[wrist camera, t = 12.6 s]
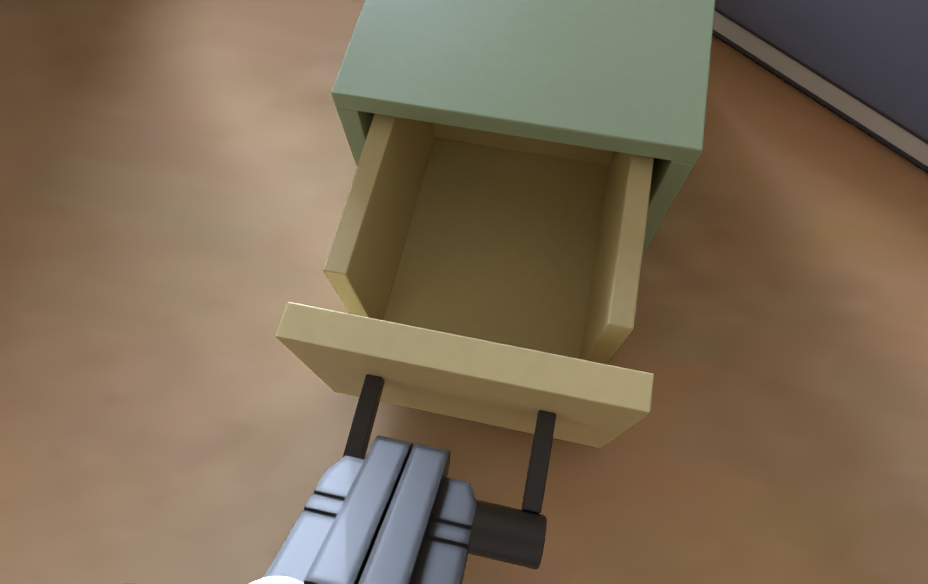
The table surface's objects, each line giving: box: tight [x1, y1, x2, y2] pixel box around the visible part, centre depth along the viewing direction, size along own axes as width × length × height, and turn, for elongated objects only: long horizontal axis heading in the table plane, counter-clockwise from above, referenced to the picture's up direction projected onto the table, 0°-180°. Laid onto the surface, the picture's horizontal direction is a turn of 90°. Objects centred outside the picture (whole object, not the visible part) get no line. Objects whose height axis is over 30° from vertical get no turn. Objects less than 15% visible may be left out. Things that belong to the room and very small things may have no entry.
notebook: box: [713, 0, 928, 172], centre depth 33 cm, size 13×2×21 cm
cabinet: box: [331, 0, 715, 256], centre depth 27 cm, size 15×13×10 cm
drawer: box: [276, 114, 654, 569], centre depth 23 cm, size 18×11×8 cm, turn 168°
